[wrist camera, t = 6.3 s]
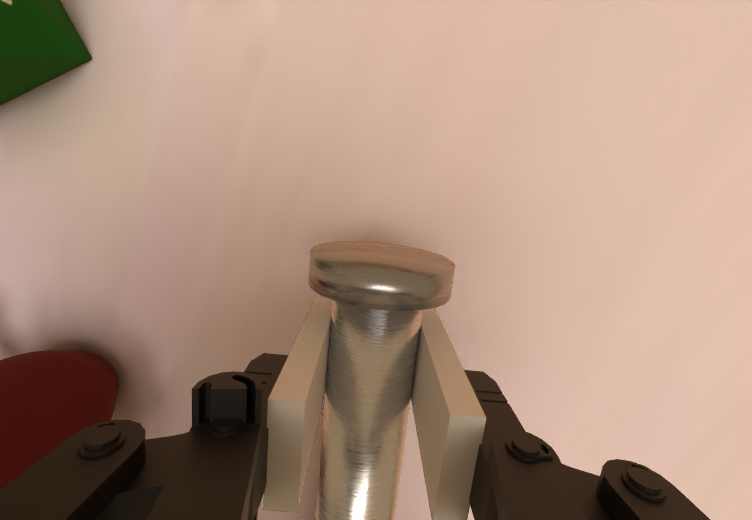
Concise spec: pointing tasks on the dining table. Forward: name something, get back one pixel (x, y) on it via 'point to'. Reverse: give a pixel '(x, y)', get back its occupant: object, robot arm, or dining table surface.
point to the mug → (49, 403)
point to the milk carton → (35, 45)
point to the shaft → (370, 368)
